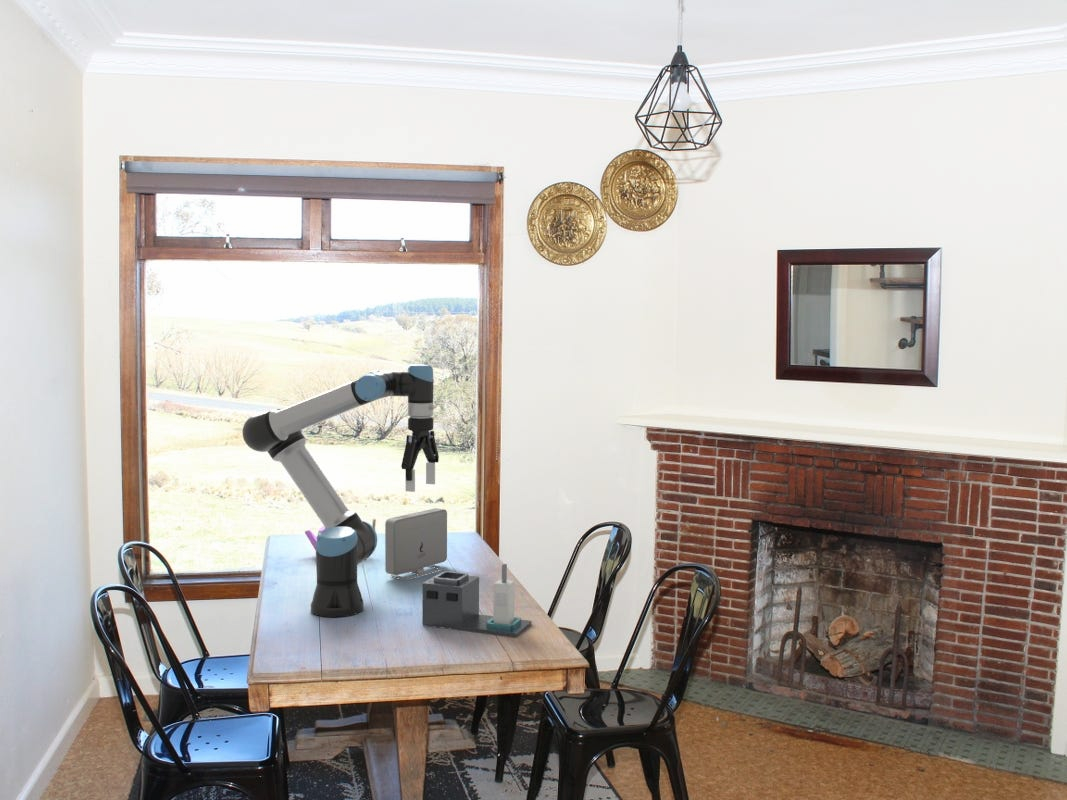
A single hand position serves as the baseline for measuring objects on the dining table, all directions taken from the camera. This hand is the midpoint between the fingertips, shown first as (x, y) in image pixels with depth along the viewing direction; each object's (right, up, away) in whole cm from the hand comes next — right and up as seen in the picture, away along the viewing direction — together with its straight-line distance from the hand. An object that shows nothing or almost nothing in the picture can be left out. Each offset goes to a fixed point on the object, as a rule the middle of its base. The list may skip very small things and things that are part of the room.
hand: (420, 487), depth 296 cm
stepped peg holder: (+18, -37, -19) cm, 45 cm away
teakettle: (-36, -30, +56) cm, 73 cm away
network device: (-5, -32, +36) cm, 48 cm away
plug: (+25, -36, -21) cm, 49 cm away
